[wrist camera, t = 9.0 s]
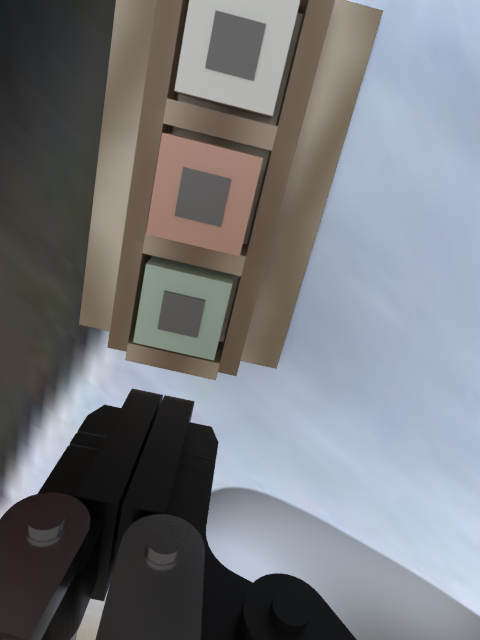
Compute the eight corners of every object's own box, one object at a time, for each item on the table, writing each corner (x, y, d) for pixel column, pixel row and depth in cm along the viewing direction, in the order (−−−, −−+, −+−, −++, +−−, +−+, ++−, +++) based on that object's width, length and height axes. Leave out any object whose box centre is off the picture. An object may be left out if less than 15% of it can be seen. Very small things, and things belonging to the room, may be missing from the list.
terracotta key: (262, 156, 25) (263, 158, 22) (241, 246, 26) (239, 257, 24) (170, 133, 24) (161, 132, 22) (155, 225, 26) (145, 234, 24)
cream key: (295, 14, 23) (300, -2, 21) (270, 118, 25) (272, 115, 23) (200, -12, 23) (193, -31, 21) (181, 95, 25) (173, 90, 22)
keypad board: (378, 14, 25) (402, -11, 21) (275, 362, 33) (278, 393, 29) (129, -54, 25) (103, -94, 20) (85, 319, 33) (60, 345, 28)
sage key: (234, 272, 28) (232, 285, 26) (217, 343, 30) (213, 361, 28) (154, 253, 28) (145, 264, 26) (142, 326, 30) (132, 343, 27)
